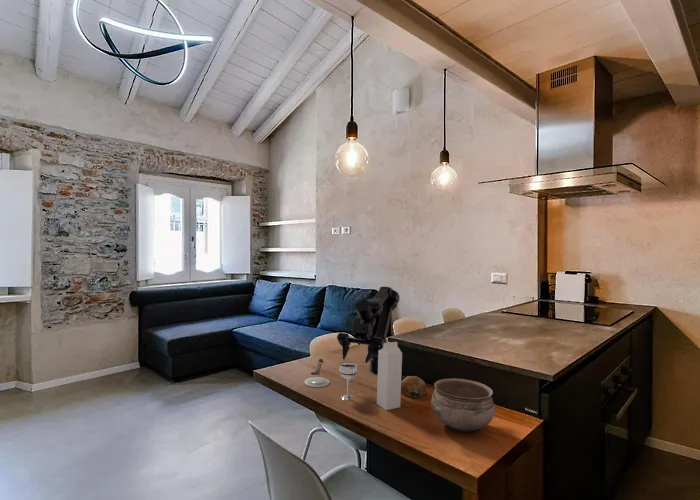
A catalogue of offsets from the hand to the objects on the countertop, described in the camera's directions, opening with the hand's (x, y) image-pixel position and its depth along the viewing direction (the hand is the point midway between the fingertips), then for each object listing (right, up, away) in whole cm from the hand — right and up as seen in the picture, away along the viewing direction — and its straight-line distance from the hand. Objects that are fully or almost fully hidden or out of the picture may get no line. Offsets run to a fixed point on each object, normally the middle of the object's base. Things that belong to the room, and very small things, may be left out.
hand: (354, 360), depth 146 cm
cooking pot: (+33, -13, -26) cm, 44 cm away
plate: (-15, -12, +9) cm, 21 cm away
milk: (+12, -13, -12) cm, 21 cm away
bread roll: (+22, -13, +2) cm, 26 cm away
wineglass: (-3, -12, -5) cm, 13 cm away
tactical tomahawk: (-15, -12, +30) cm, 36 cm away
